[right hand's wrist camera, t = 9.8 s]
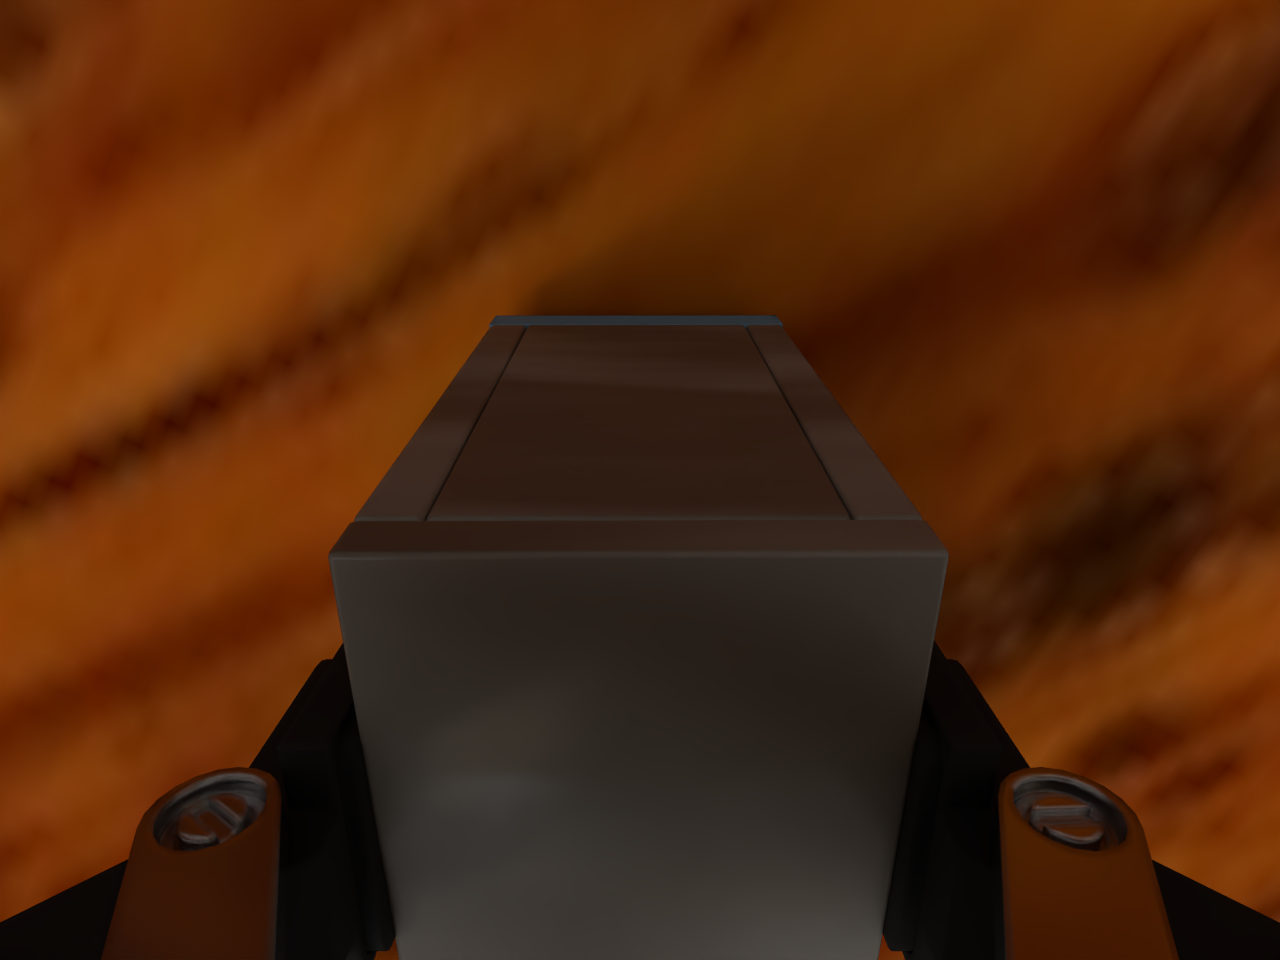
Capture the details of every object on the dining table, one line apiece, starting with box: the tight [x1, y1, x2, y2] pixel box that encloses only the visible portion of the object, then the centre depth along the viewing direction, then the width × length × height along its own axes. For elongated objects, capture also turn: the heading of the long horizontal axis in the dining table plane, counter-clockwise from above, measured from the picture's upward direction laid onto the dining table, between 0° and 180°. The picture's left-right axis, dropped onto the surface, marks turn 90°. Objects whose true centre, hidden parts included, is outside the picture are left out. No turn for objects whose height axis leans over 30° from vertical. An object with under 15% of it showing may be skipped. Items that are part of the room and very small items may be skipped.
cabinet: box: [328, 315, 949, 960], centre depth 15 cm, size 16×6×10 cm, turn 0°
